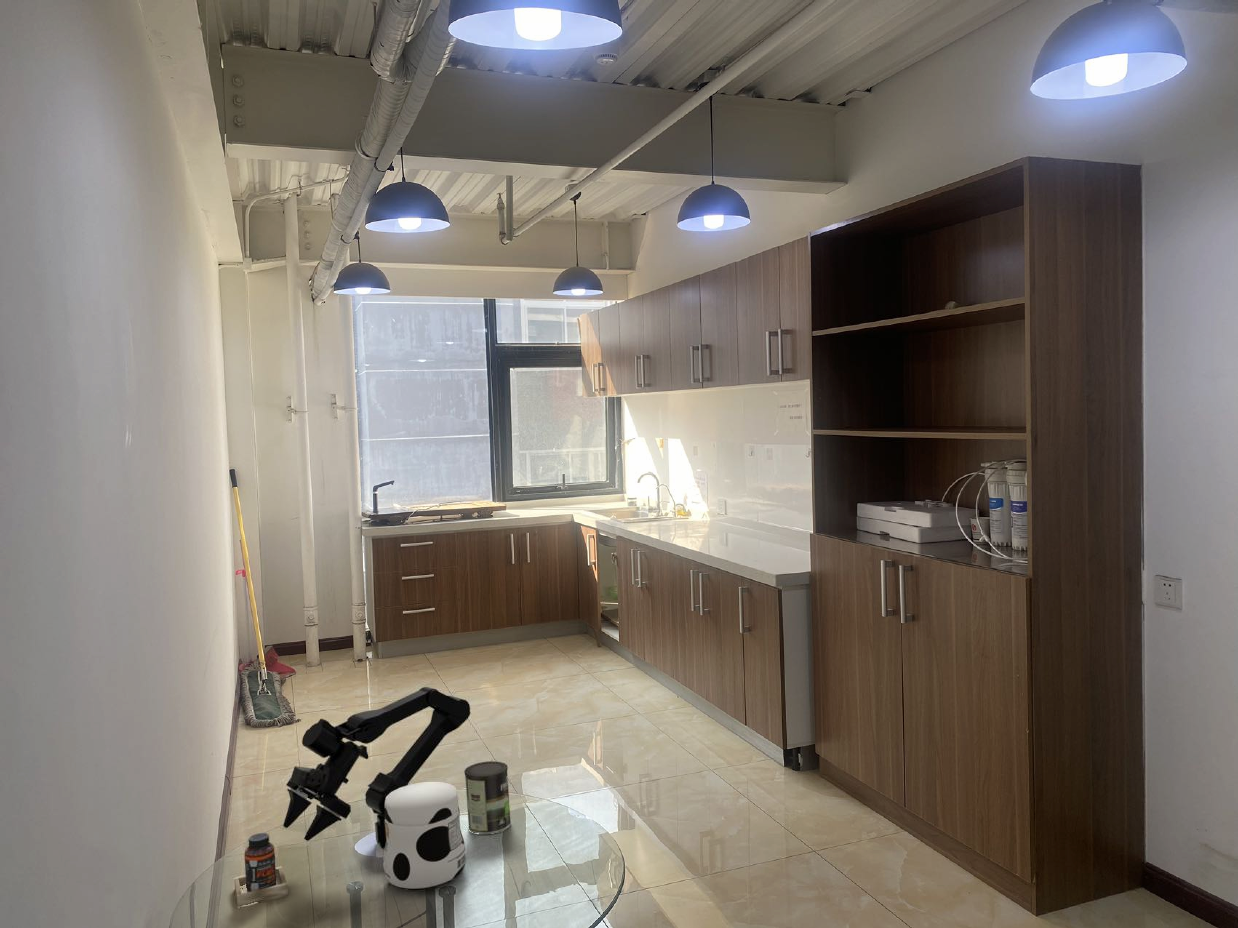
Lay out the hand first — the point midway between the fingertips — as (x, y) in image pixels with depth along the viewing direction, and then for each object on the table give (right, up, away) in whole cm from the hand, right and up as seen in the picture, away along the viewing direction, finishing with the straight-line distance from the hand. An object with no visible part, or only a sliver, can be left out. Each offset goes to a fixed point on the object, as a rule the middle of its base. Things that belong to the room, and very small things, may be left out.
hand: (295, 833), depth 201 cm
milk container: (+29, -8, -3) cm, 31 cm away
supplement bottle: (-5, -10, -6) cm, 12 cm away
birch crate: (-5, -10, -6) cm, 13 cm away
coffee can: (+39, -7, +22) cm, 45 cm away
